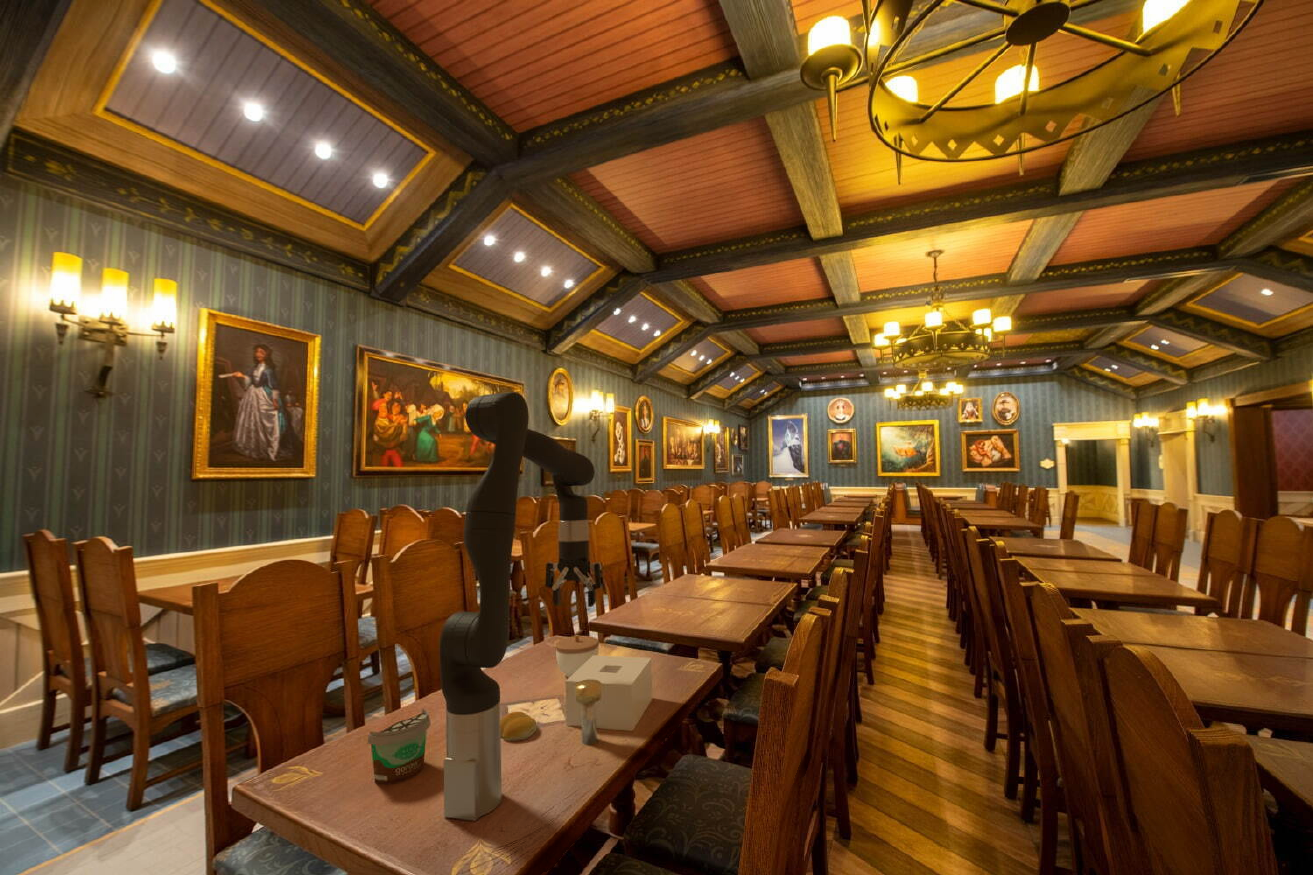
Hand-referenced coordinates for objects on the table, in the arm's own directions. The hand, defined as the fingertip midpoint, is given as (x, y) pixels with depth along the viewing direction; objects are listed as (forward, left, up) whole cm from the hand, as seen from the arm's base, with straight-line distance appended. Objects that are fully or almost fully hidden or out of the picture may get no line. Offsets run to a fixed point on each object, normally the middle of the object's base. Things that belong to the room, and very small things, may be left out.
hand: (574, 605), depth 132 cm
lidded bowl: (+26, +11, -26) cm, 38 cm away
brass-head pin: (-11, -7, -26) cm, 29 cm away
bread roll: (-10, +11, -27) cm, 30 cm away
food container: (-30, +24, -26) cm, 46 cm away
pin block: (+4, -7, -26) cm, 27 cm away
